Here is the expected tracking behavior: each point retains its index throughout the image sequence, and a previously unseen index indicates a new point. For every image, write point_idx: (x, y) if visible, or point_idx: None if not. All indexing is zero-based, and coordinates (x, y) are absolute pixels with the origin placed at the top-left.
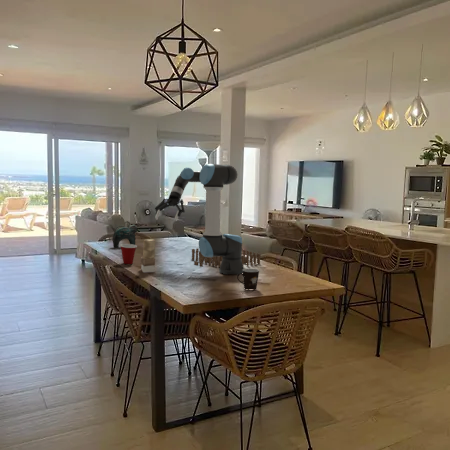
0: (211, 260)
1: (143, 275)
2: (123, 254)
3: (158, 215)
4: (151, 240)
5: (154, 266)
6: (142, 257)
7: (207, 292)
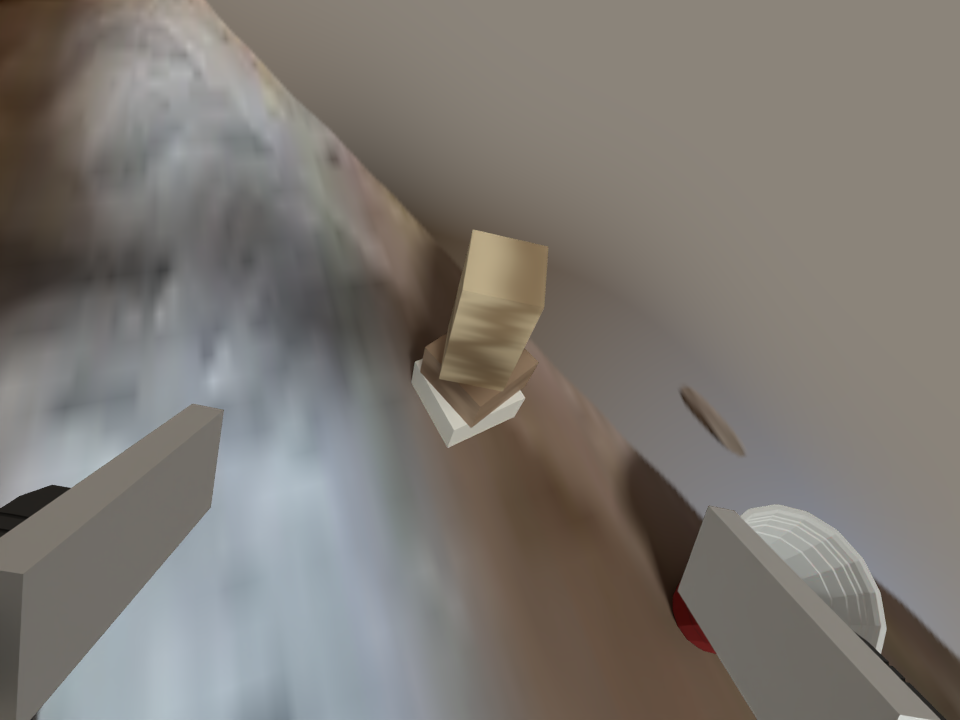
0: None
1: (448, 292)
2: None
3: (745, 646)
4: (476, 247)
5: (418, 363)
6: (528, 369)
7: (73, 72)
